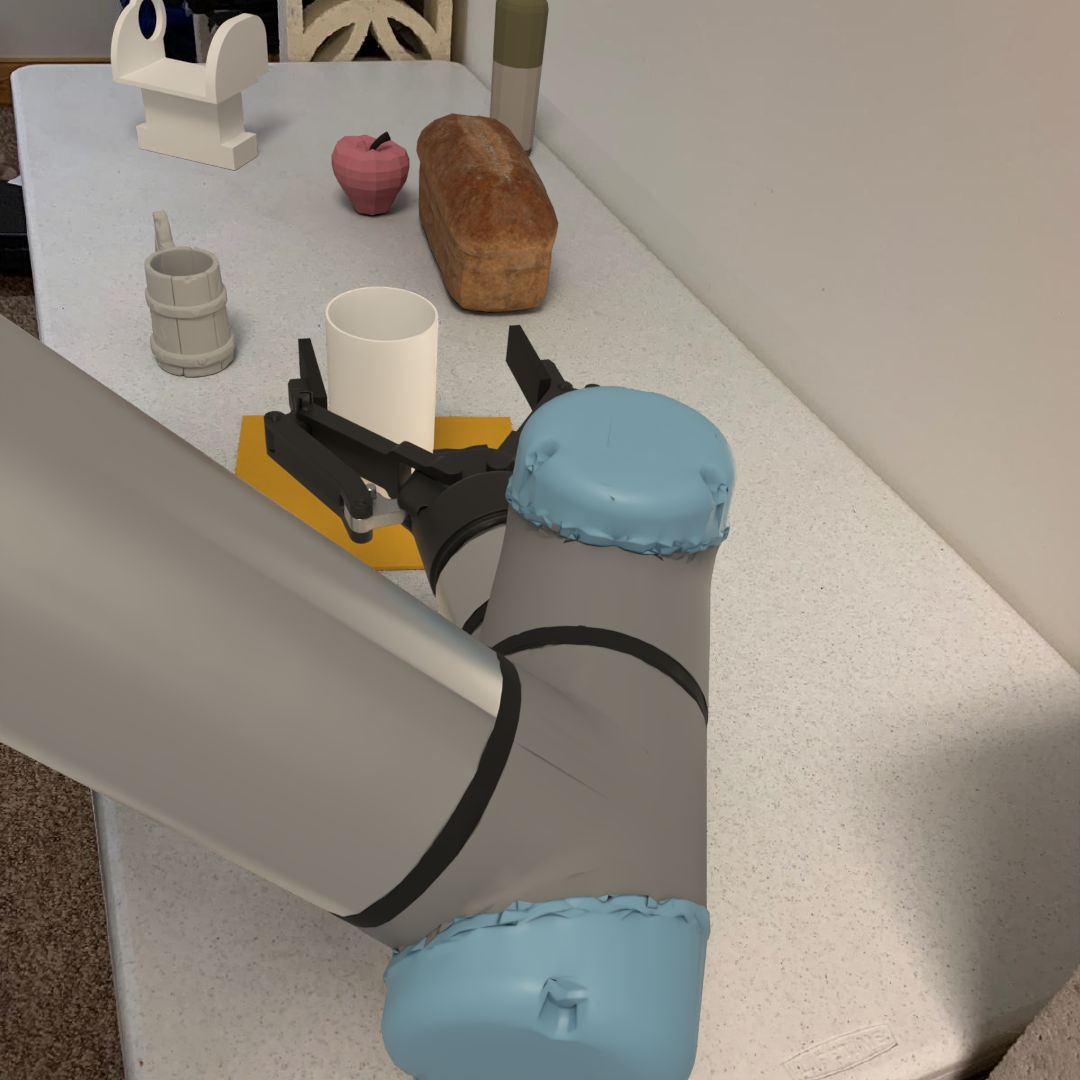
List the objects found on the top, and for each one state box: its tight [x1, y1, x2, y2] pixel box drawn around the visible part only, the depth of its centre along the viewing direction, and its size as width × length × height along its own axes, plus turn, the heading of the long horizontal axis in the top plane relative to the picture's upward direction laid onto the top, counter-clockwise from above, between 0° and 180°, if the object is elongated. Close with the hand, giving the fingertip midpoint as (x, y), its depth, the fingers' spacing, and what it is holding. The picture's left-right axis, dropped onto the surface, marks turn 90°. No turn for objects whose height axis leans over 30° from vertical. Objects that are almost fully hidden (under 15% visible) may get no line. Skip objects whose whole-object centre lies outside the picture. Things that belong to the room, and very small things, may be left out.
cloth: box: [234, 414, 513, 571], centre depth 83 cm, size 24×20×1 cm
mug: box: [143, 209, 237, 378], centre depth 92 cm, size 8×12×12 cm, turn 31°
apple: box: [330, 130, 411, 216], centre depth 120 cm, size 10×9×10 cm
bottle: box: [489, 0, 550, 156], centre depth 133 cm, size 7×7×30 cm
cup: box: [324, 286, 439, 499], centre depth 78 cm, size 8×8×16 cm
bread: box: [415, 112, 559, 313], centre depth 111 cm, size 12×28×14 cm, turn 15°
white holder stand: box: [110, 0, 270, 171], centre depth 126 cm, size 14×13×18 cm
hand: (412, 349), depth 64 cm, fingers open, 13 cm apart
